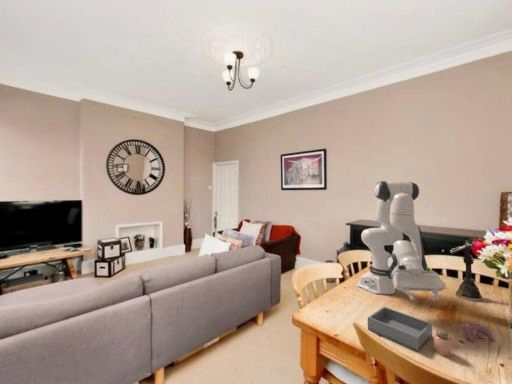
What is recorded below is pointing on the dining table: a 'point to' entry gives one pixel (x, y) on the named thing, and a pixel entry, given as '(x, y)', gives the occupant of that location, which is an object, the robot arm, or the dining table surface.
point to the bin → (400, 328)
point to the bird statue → (467, 276)
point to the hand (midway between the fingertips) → (424, 299)
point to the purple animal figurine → (480, 330)
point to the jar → (442, 343)
